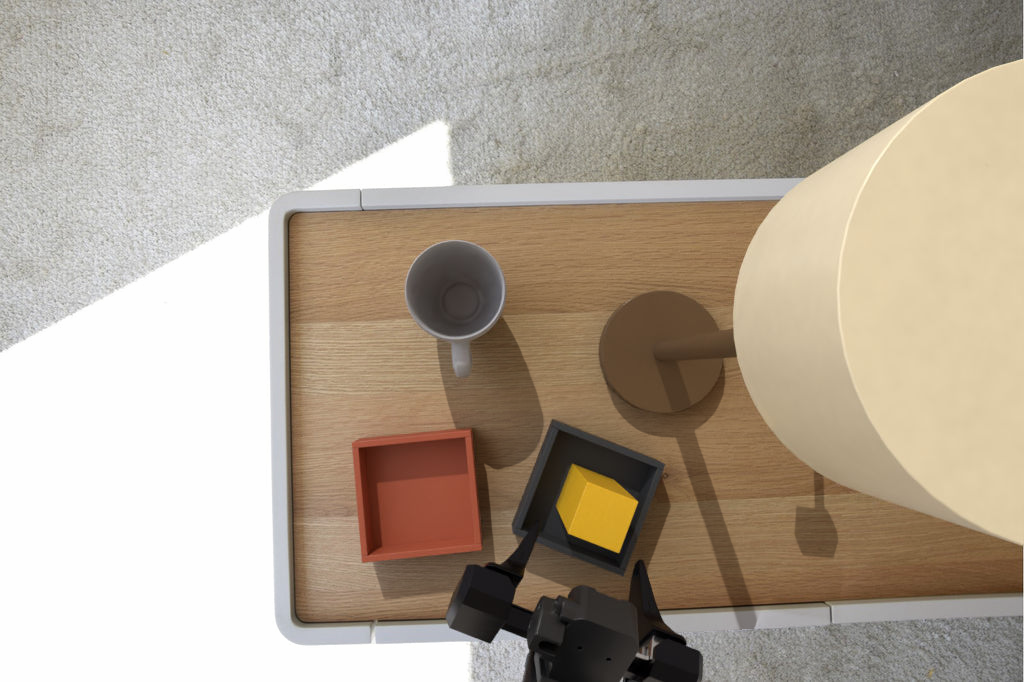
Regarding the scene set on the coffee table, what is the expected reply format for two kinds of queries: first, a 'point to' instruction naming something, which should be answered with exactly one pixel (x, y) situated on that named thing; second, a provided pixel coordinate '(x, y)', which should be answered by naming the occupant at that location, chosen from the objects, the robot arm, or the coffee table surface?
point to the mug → (456, 296)
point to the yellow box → (595, 508)
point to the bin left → (417, 494)
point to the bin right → (549, 479)
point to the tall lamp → (876, 315)
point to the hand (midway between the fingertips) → (588, 541)
